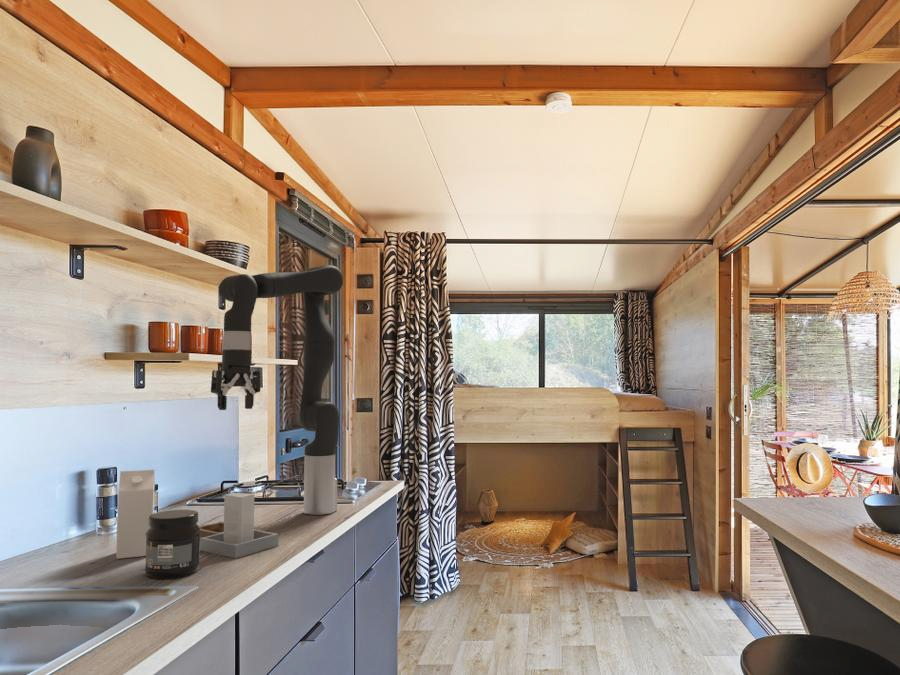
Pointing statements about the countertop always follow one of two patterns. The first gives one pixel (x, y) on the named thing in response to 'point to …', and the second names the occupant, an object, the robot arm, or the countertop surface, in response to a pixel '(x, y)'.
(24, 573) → the countertop surface
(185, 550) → the supplement container
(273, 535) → the tray
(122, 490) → the milk carton
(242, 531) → the skincare box
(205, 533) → the holder
